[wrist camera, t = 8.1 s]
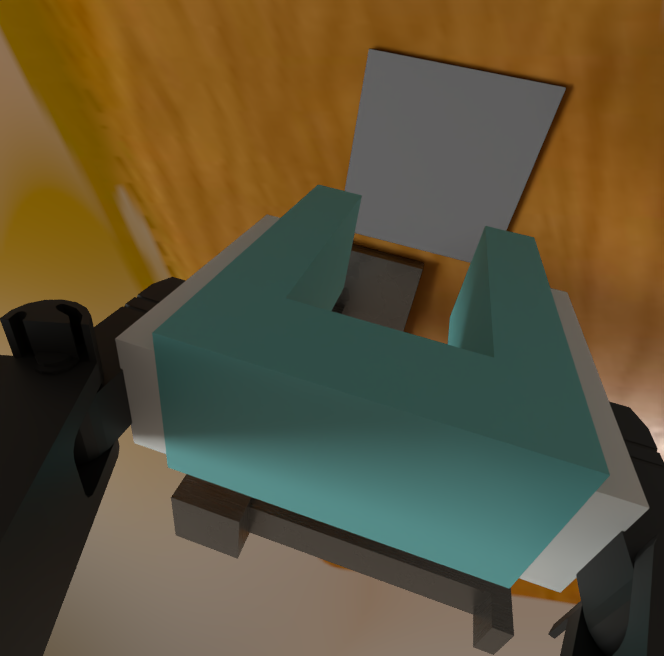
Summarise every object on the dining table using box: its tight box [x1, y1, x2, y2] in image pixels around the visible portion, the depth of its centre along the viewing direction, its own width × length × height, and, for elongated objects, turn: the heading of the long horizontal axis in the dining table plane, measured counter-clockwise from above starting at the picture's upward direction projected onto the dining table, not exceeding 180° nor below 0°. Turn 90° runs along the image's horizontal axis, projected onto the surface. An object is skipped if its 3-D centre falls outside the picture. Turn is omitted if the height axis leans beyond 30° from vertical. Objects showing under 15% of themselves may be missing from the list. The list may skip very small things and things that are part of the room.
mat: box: [345, 49, 566, 263], centre depth 24 cm, size 10×10×1 cm
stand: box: [171, 244, 514, 655], centre depth 24 cm, size 12×16×18 cm
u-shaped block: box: [152, 185, 610, 588], centre depth 11 cm, size 7×4×9 cm, turn 81°
